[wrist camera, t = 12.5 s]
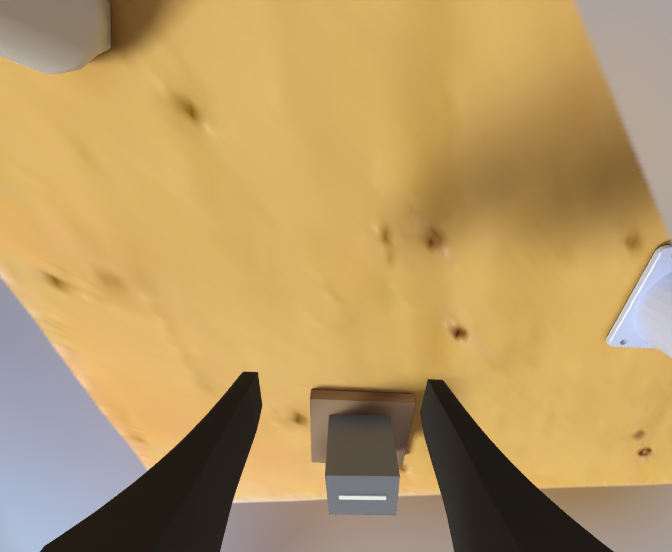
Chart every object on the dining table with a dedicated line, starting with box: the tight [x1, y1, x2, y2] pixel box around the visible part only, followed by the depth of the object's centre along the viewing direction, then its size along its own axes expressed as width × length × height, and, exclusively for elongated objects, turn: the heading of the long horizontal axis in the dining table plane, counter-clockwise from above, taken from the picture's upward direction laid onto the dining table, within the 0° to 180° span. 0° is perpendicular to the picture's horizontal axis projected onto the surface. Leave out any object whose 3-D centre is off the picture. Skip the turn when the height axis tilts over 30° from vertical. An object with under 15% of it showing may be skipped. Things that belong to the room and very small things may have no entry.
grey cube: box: [325, 415, 400, 515], centre depth 24 cm, size 5×5×5 cm
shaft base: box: [310, 390, 416, 466], centre depth 25 cm, size 9×9×4 cm
